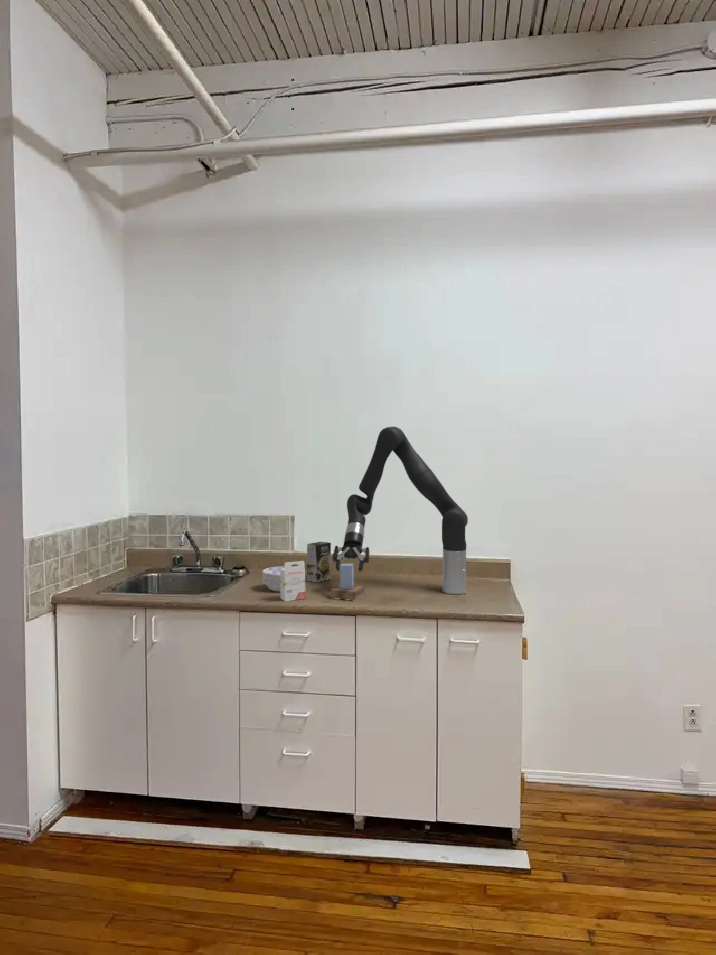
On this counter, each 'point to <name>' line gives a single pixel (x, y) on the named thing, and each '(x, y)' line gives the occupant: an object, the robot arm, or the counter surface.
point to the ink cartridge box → (292, 581)
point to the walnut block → (348, 592)
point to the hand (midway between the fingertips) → (348, 570)
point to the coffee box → (318, 561)
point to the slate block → (346, 576)
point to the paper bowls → (272, 577)
